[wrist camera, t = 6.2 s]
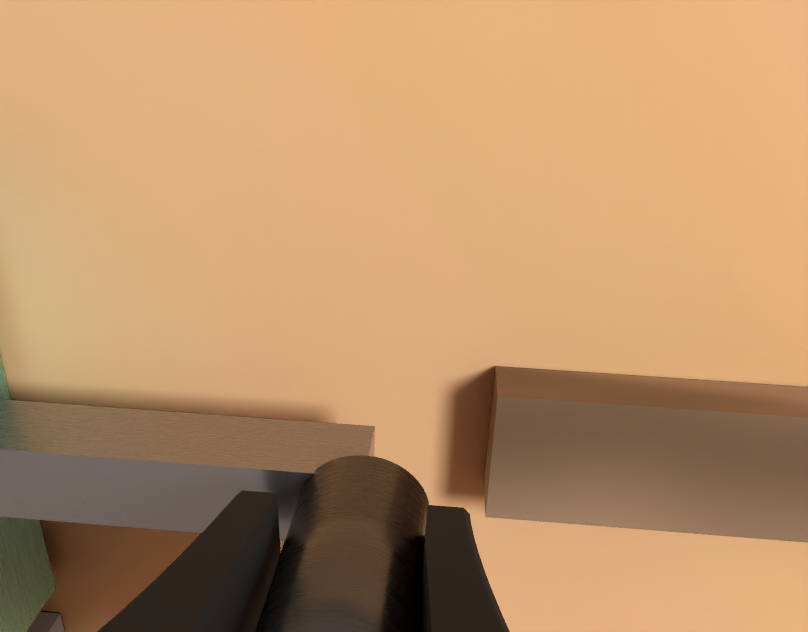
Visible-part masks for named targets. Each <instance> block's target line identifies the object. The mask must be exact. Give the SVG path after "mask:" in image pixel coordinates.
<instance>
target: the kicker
mask: <svg viewBox="0 0 808 632" xmlns="http://www.w3.org/2000/svg"><path fill="white" fill-rule="evenodd" d="M374 434H375V426H363V425H349V424H335V423H321V422H308V421H294V420H280V419H266V418H252V417H239V416H225V415H211V414H197V413H183V412H170V411H156V410H142V409H128V408H114V407H101V406H87V405H73V404H59V403H45V402H32V401H18V400H11V399H10V395H9V391H8V387H7V382H6V378H5V374H4V370H3V366H2V362H1V358H0V632H26V631H27V630H28V629H29V627H30V626H31V624H32V623H33V621H34V620H35V618H36V617H37V615H38V614H39V612H40V611H41V609H42V608H43V607H44V605H45V604H46V602H47V601H48V599H49V598H50V596H51V595H52V593H53V592H54V590H55V589H56V586H55V582H54V578H53V574H52V570H51V565H50V561H49V557H48V553H47V549H46V545H45V540H44V536H43V532H42V528H41V524H40V520H48V521H60V522H72V523H84V524H96V525H108V526H120V527H132V528H144V529H157V530H169V531H181V532H193V533H202V532H203V531H204V530H205V529H206V528H207V527H208V526H209V525H210V524H211V522H212V521H213V520H214V519H215V518H216V517H217V516H218V515H219V514H220V513H221V512H222V510H223V509H224V508H225V507H226V506H227V505H228V504H229V503H230V502H231V501H232V499H233V498H234V497H235V496H236V495H237V494H239V493H240V492H241V491H242V490H243V491H256V492H269V493H277V500H278V518H279V535H280V540H285V542H284V545H283V548H282V551H281V554H280V557H279V560H278V563H277V566H276V569H275V572H274V575H273V578H272V582H271V585H270V588H269V591H268V594H267V597H266V600H265V603H264V606H263V609H262V612H261V615H260V618H259V621H258V624H257V627H256V630H255V632H422V612H423V602H422V578H423V560H424V543H425V528H426V517H427V505H429V501H428V498H427V495H426V493H425V491H424V489H423V487H422V486H421V485H420V483H419V482H418V481H417V480H416V479H415V478H414V477H413V475H411V474H410V473H409V472H408V471H406V470H405V469H403V468H402V467H400V466H399V465H397V464H395V463H393V462H390V461H388V460H385V459H382V458H378V457H374Z"/></svg>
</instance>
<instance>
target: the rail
mask: <svg viewBox="0 0 808 632" xmlns="http://www.w3.org/2000/svg"><path fill="white" fill-rule="evenodd" d="M484 491H485V517H493V518H505V519H518V520H531V521H543V522H556V523H568V524H581V525H594V526H606V527H619V528H631V529H644V530H657V531H669V532H682V533H695V534H707V535H720V536H732V537H745V538H758V539H770V540H783V541H795V542H808V387H798V386H783V385H768V384H753V383H738V382H723V381H708V380H693V379H678V378H663V377H648V376H633V375H618V374H603V373H588V372H573V371H558V370H543V369H528V368H513V367H498V366H496V367H495V377H494V387H493V397H492V407H491V417H490V427H489V437H488V448H487V458H486V468H485V478H484Z"/></svg>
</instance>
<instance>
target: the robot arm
mask: <svg viewBox="0 0 808 632" xmlns="http://www.w3.org/2000/svg"><path fill="white" fill-rule="evenodd" d="M280 554H281V553H280V535H279V518H278V500H277V493H269V492H256V491H243V490H242V491H241V492H240V493H239V494H237V495H236V496H235V497H234V498H233V499H232V501H231V502H230V503H229V504H228V505H227V506H226V507H225V508H224V509H223V510H222V512H221V513H220V514H219V515H218V516H217V517H216V518H215V519H214V520H213V521H212V522H211V524H210V525H209V526H208V527H207V528H206V529H205V530H204V531H203V532H202V533H201V534H200V535H199V536H198V537H197V538H196V539H195V541H194V542H193V543H192V544H191V545H190V546H189V547H188V548H187V549H186V550H185V551H184V552H183V553H182V554H181V555H180V556H179V557H178V558H177V559H176V560H175V561H174V562H173V563H172V564H171V565H170V566H169V567H168V568H167V569H166V570H165V571H164V572H163V573H162V574H161V575H160V576H159V577H158V578H157V579H156V580H155V581H154V582H153V583H151V584H150V585H149V586H148V587H147V588H146V589H145V590H144V591H143V592H142V593H141V594H139V595H138V596H137V597H136V598H135V599H134V600H133V601H132V602H131V603H130V604H128V605H127V606H126V607H125V608H124V609H123V610H122V611H121V612H120V613H119V614H117V615H116V616H115V617H114V618H113V619H112V620H111V621H109V622H108V623H107V624H106V625H105V626H103V627H102V628H101V629H100V630H99V631H98V632H255V630H256V627H257V624H258V621H259V618H260V615H261V612H262V609H263V606H264V603H265V600H266V597H267V594H268V591H269V588H270V585H271V582H272V578H273V575H274V572H275V569H276V566H277V563H278V560H279V557H280ZM422 602H423V612H422V632H509V629H508V627H507V625H506V623H505V620H504V618H503V616H502V614H501V611H500V609H499V606H498V604H497V602H496V599H495V597H494V594H493V592H492V589H491V587H490V584H489V582H488V579H487V576H486V574H485V571H484V568H483V565H482V562H481V559H480V556H479V553H478V550H477V546H476V543H475V539H474V535H473V531H472V526H471V521H470V514H469V513H468V512H467V511H466V510H465V509H464V508H459V507H446V506H433V505H427V517H426V528H425V543H424V560H423V578H422Z"/></svg>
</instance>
